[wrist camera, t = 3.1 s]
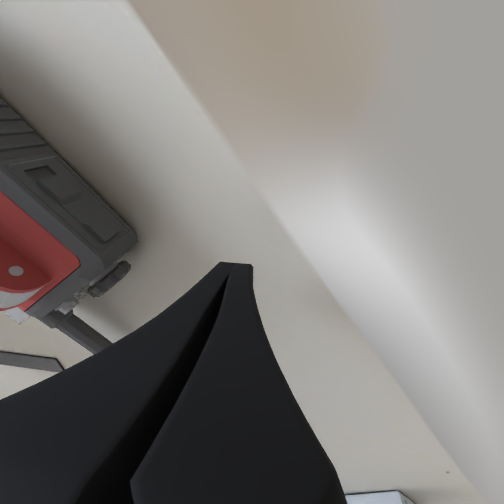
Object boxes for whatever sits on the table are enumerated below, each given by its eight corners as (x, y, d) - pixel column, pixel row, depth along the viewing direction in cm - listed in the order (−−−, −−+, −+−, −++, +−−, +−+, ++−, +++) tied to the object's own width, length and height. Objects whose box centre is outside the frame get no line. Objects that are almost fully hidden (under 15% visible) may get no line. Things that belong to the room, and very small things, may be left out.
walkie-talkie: (-186, 115, 10) (147, 366, 17) (-457, 118, 7) (110, 436, 14) (-164, -84, 7) (239, 329, 14) (-705, -321, 3) (222, 408, 10)
